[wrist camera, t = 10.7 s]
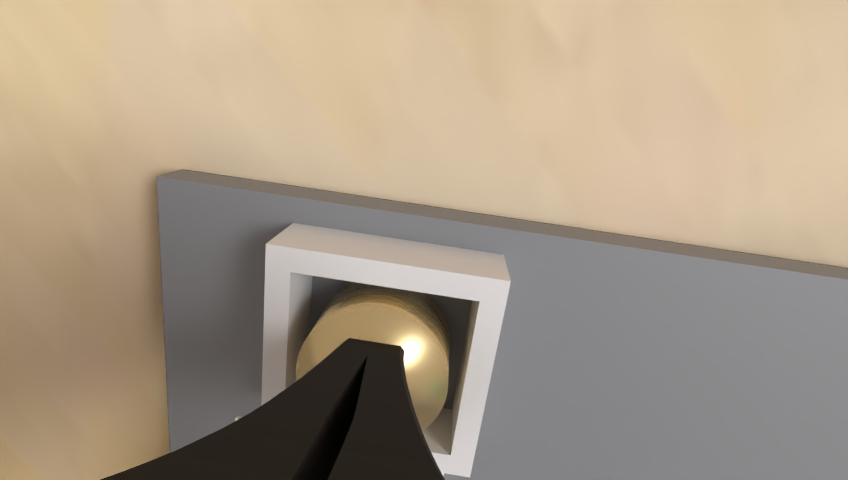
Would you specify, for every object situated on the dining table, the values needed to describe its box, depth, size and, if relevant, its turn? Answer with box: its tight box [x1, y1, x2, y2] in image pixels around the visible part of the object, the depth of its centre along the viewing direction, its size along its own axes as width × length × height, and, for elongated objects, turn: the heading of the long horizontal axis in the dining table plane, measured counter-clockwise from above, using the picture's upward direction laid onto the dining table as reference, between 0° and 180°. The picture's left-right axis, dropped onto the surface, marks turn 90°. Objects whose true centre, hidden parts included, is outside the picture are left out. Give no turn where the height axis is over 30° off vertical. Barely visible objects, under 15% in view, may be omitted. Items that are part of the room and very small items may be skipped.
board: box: [157, 170, 848, 480], centre depth 13 cm, size 14×25×3 cm, turn 82°
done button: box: [296, 282, 450, 431], centre depth 12 cm, size 4×4×2 cm
